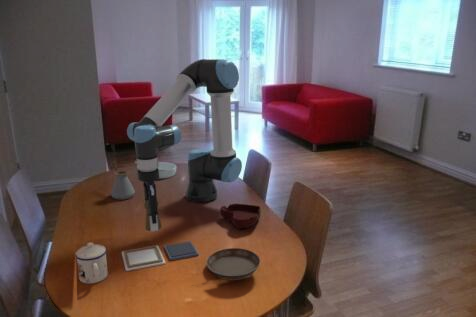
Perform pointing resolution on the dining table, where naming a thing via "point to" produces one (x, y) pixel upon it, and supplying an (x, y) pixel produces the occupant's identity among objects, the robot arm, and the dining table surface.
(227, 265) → the plant saucer
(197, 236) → the dining table surface
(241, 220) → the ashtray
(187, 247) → the ink pad
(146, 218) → the olive knob handle
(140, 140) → the robot arm
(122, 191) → the coffee pot
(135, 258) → the board
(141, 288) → the dining table surface
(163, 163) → the cereal bowl
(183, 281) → the dining table surface
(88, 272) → the teacup with lid
